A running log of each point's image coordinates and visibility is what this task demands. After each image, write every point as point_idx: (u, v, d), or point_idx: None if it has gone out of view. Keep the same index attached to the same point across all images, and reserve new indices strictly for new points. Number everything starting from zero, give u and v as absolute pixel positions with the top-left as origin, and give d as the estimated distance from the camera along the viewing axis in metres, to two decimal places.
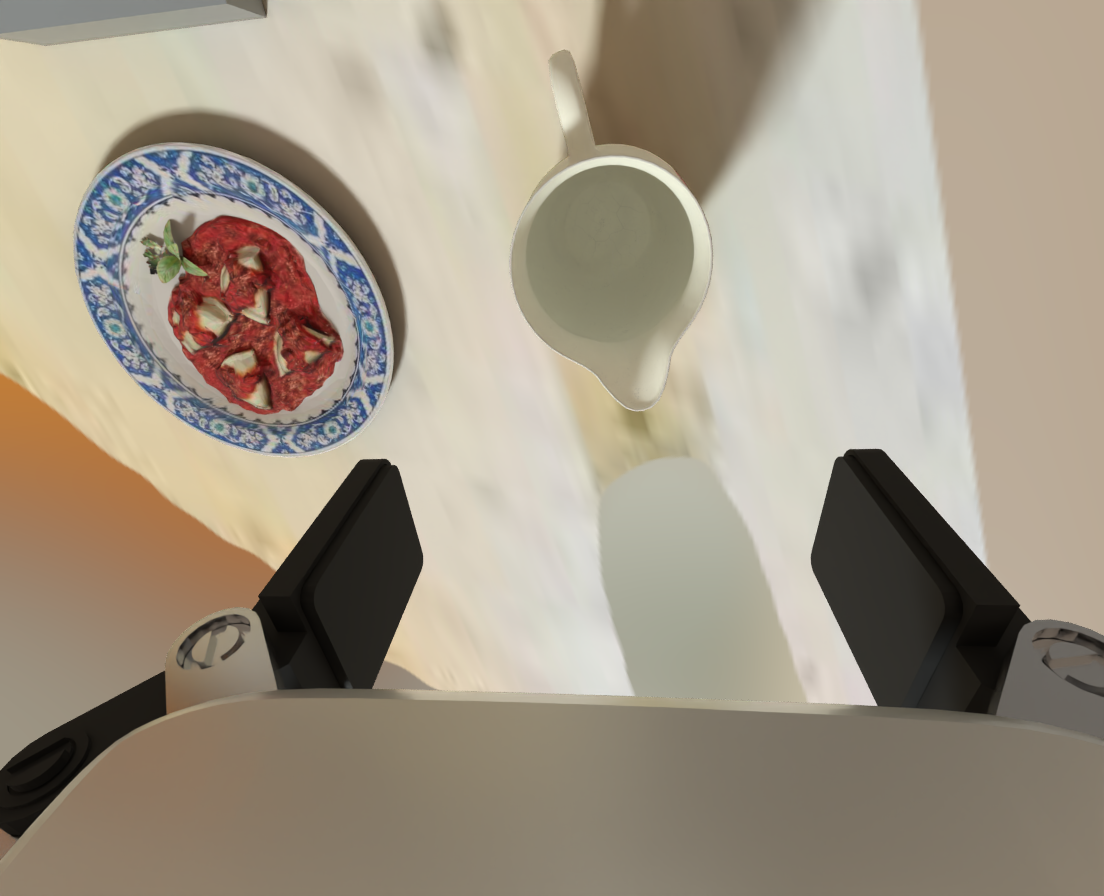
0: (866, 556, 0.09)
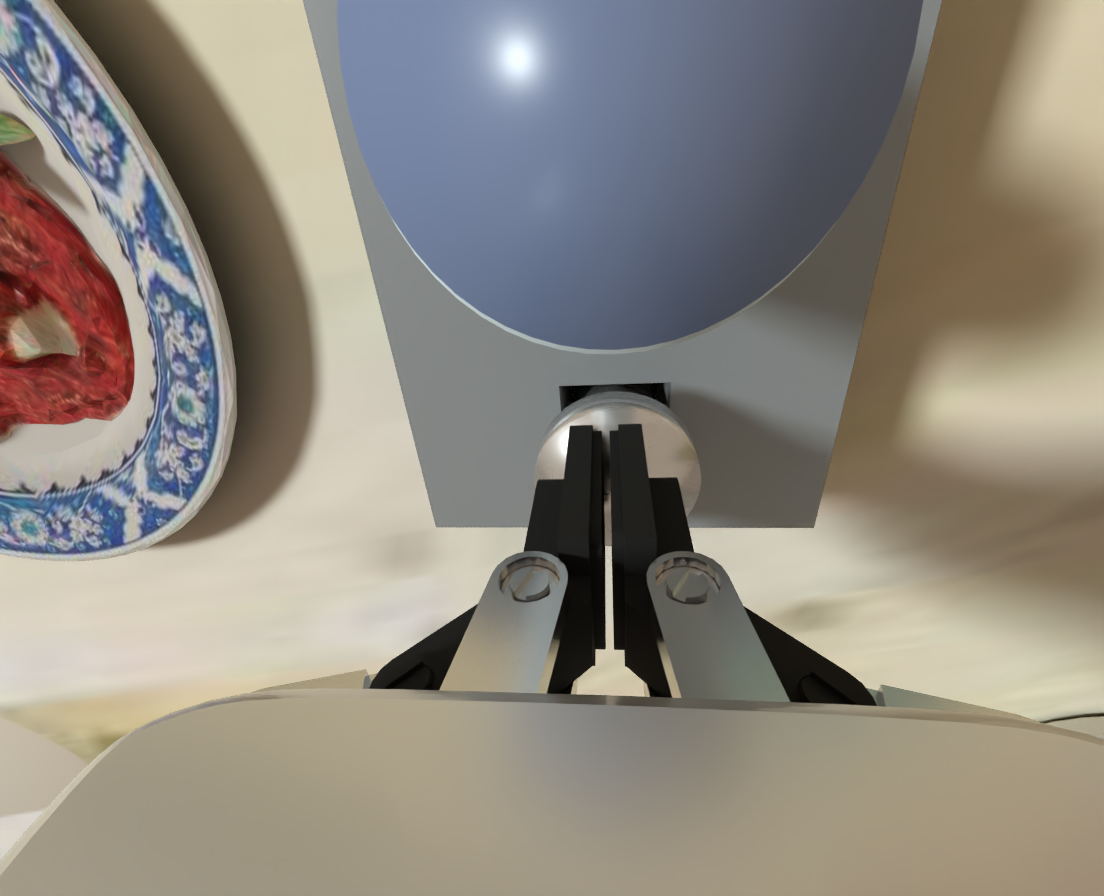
0: None
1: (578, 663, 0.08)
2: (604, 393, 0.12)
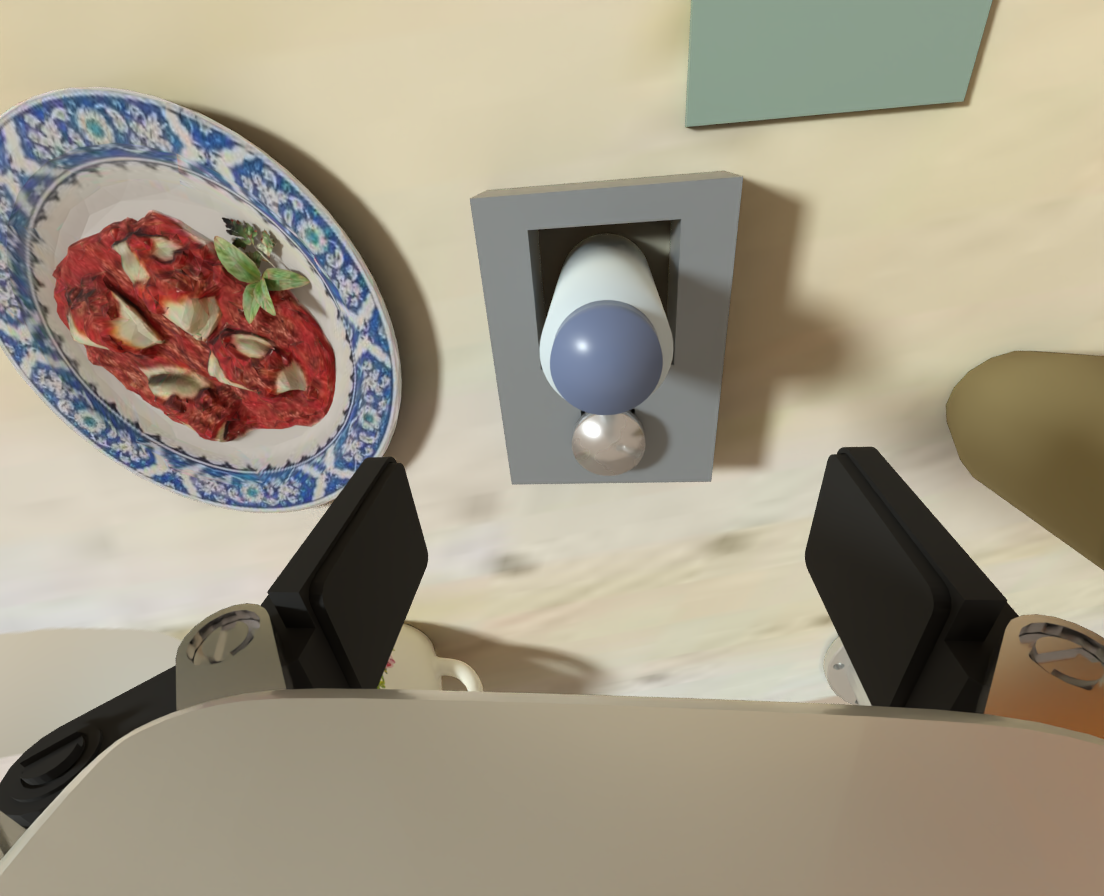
0: (858, 553, 0.09)
1: None
2: None
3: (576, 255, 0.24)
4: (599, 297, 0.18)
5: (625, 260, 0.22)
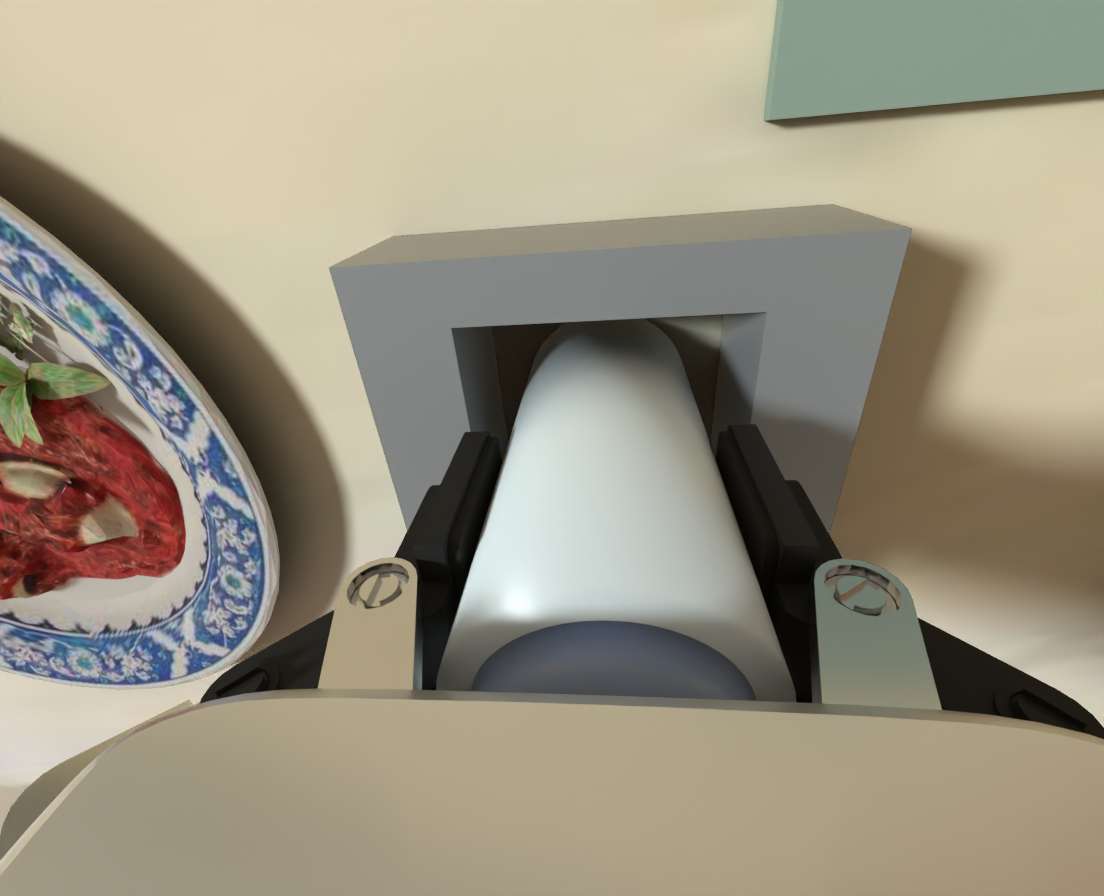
0: None
1: None
2: None
3: (551, 369, 0.13)
4: (593, 614, 0.06)
5: (652, 412, 0.10)
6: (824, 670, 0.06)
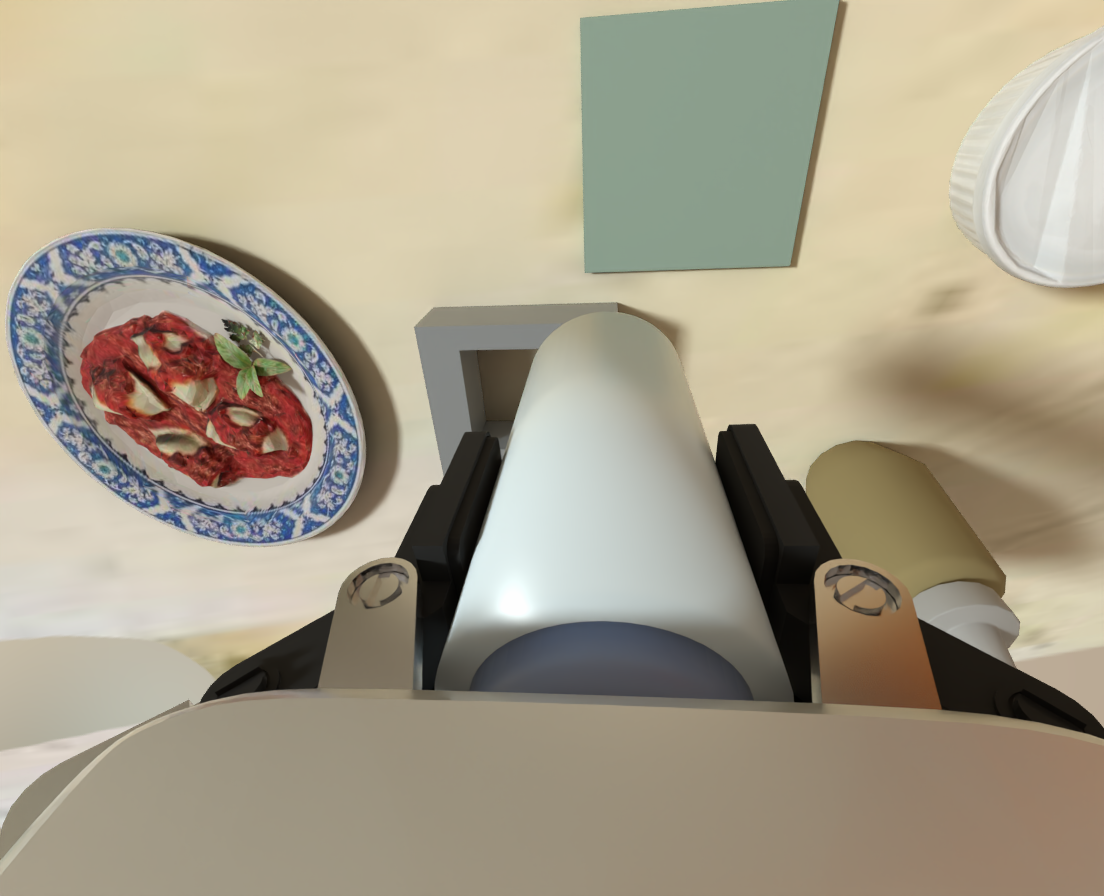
0: None
1: None
2: None
3: (550, 369, 0.13)
4: (591, 615, 0.06)
5: (651, 412, 0.10)
6: (824, 670, 0.06)
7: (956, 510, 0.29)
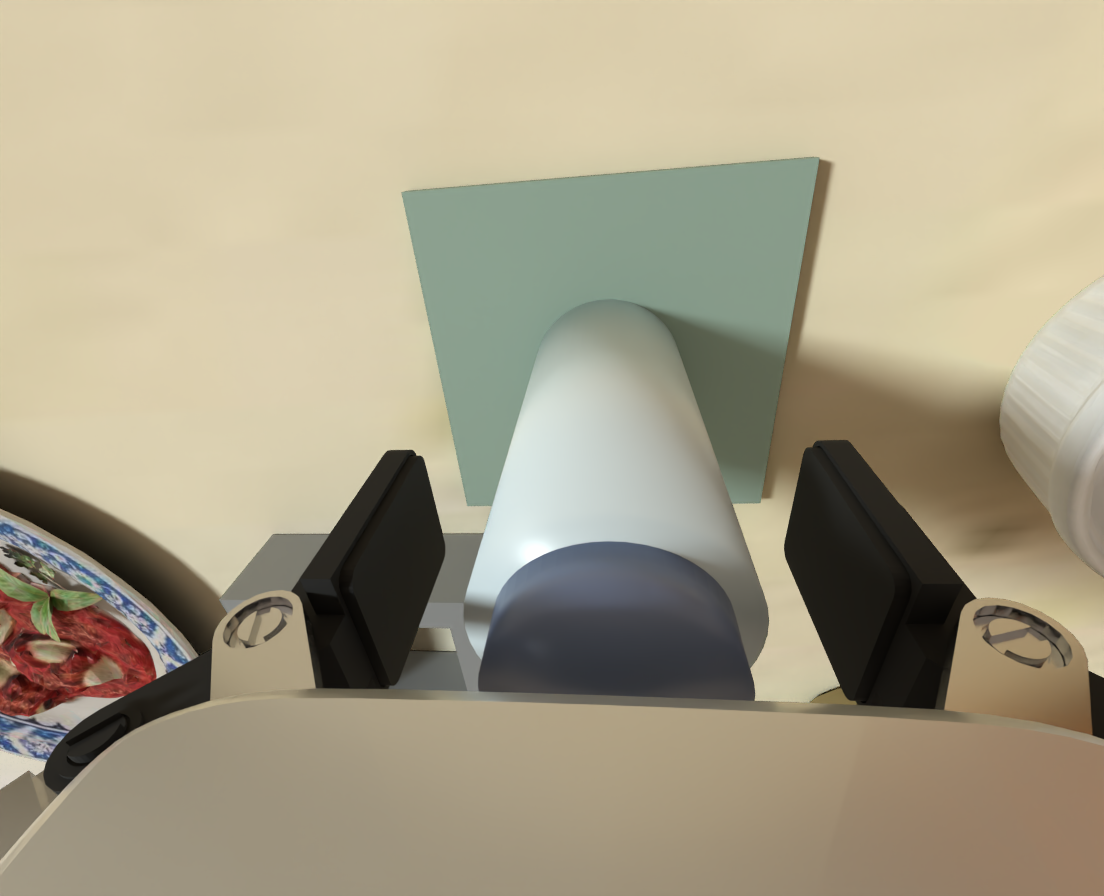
0: (830, 542, 0.09)
1: None
2: None
3: (557, 349, 0.14)
4: (598, 535, 0.07)
5: (648, 383, 0.11)
6: (951, 704, 0.06)
7: None
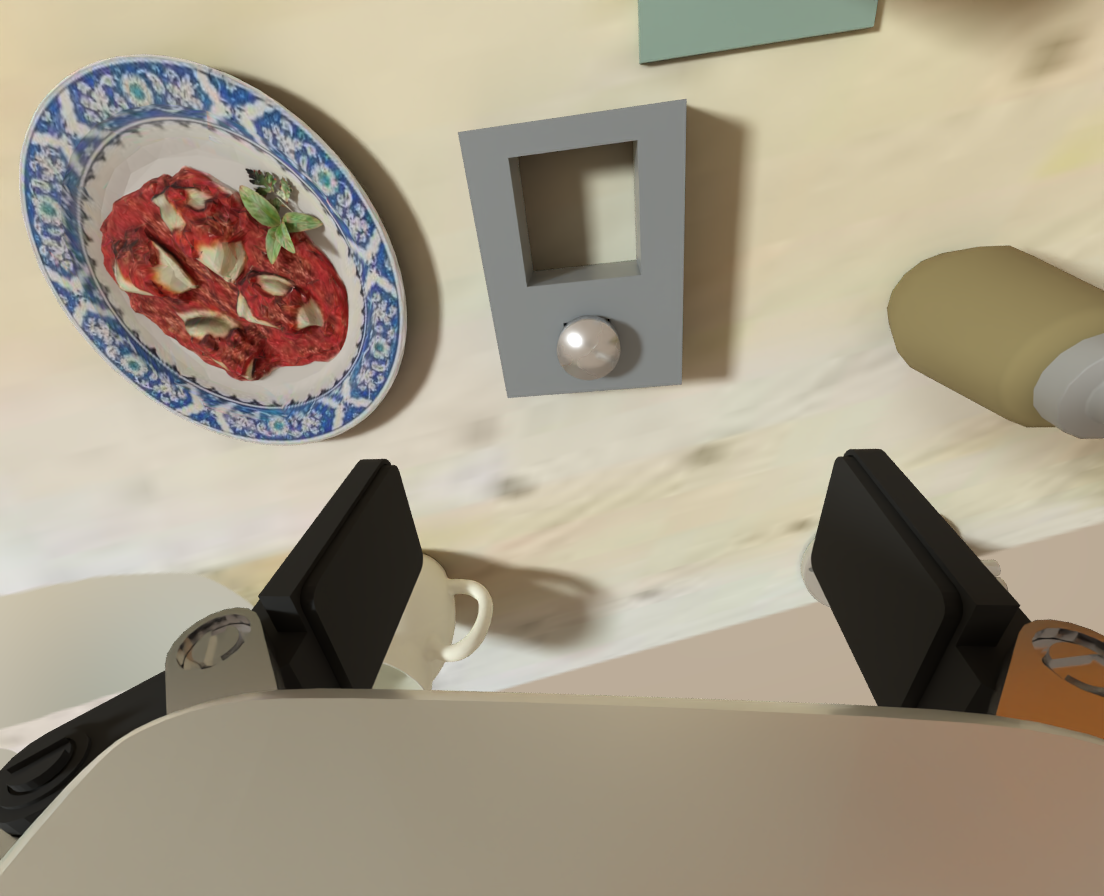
0: (866, 556, 0.09)
1: None
2: (582, 316, 0.32)
3: None
4: None
5: None
6: None
7: (1084, 281, 0.25)
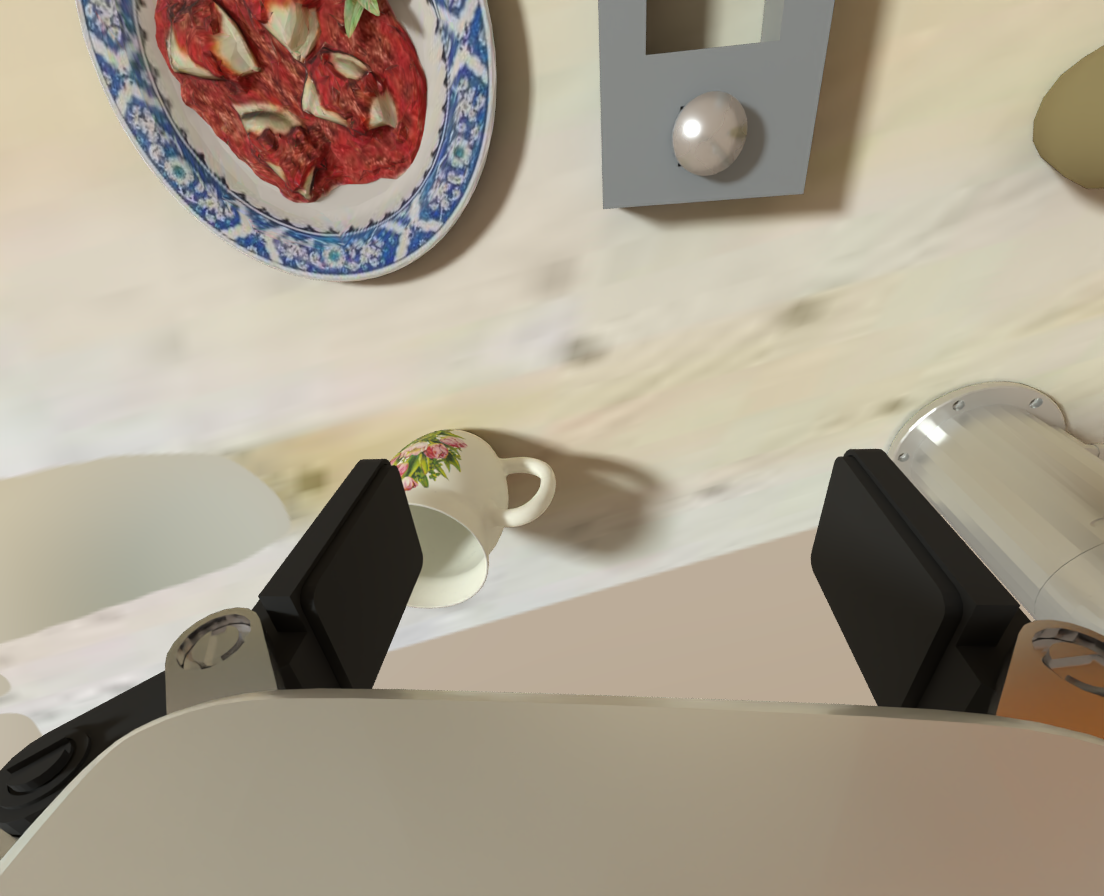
0: (866, 556, 0.09)
1: None
2: None
3: None
4: None
5: None
6: None
7: None
